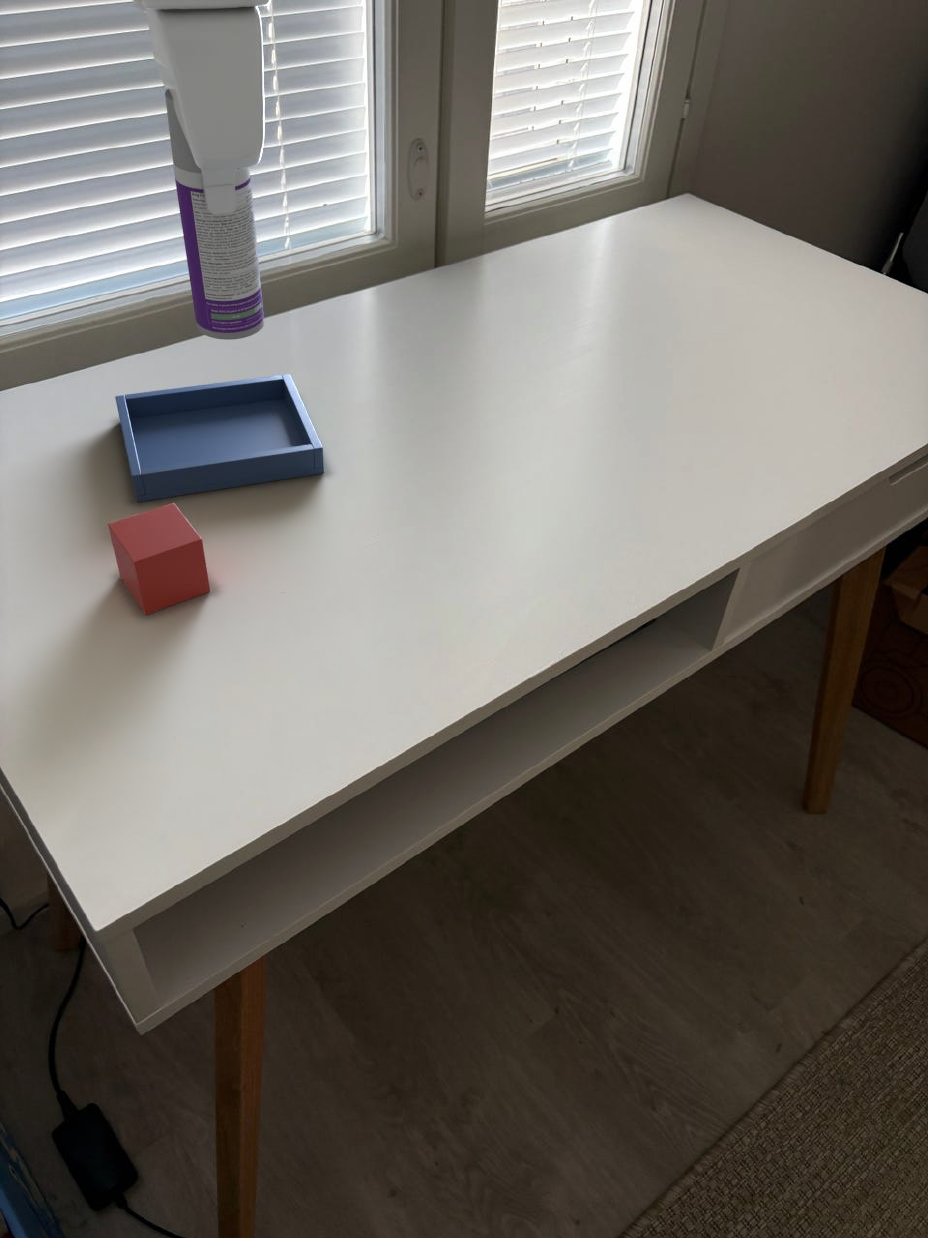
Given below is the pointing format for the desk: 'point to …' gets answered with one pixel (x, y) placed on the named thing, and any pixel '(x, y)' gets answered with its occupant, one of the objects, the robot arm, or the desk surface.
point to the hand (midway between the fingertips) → (213, 191)
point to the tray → (217, 436)
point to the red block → (159, 558)
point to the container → (217, 247)
